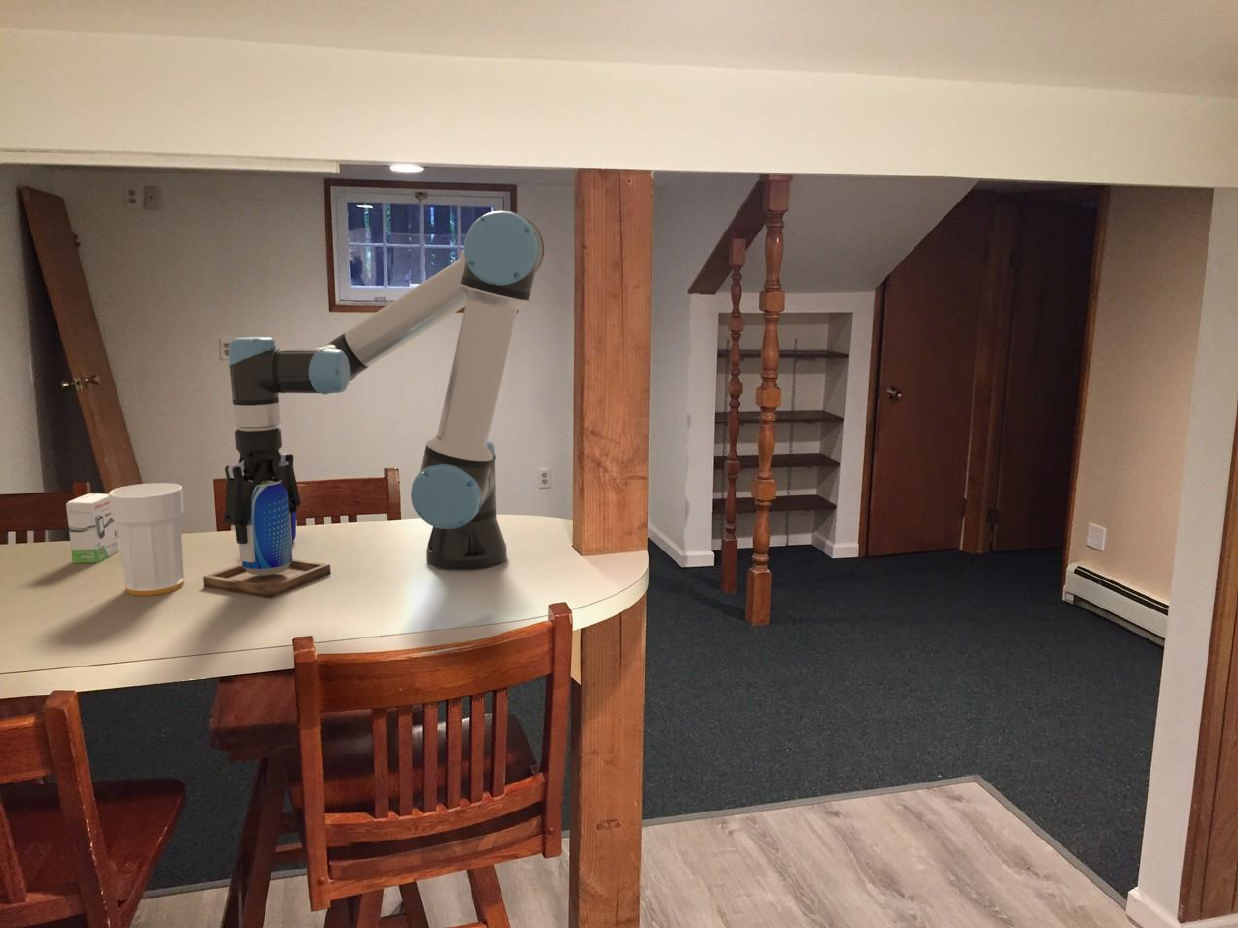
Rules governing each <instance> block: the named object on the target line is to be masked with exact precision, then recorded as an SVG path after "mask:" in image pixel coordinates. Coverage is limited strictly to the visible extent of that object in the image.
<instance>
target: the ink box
mask: <svg viewBox="0 0 1238 928" xmlns="http://www.w3.org/2000/svg"><path fill="white" fill-rule="evenodd" d="M65 506H66V516H67V523H68V533H69V541H70V548H71V551H70V552H71V558H72V563H73V564H77V563H78V564H79V563H80V564H82V563H85V564H87V563H91V564H92V563H96V564H97V563H100V562H101V561H103V560H105V559H107V558H109V557H110V556H112V555H114V554H116V553H118V552H120V545H119V538H118V530H117V523H116V522H115V521H114V520H113V519H112V514H111V507H110V500H109V493H100V492H98V493H94V492H92V493H91V492H90V493H86V494H83V495H80V496H79V497H76V498H74V499H71V500H69V501H67V503H65Z"/></svg>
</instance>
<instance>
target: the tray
mask: <svg viewBox="0 0 1238 928" xmlns="http://www.w3.org/2000/svg"><path fill="white" fill-rule="evenodd" d="M328 575H331V564H329V563H325V562H324V563H323V562H317V561H309V560H302V559H299V558H292V562H291V563H290V565H289V567H288V569H287V570H285V571H283V572H280V573H277V574H271V575H252V574H249V573H248V572H247V570H246V569H245V568H244V567H243V566H242V563H238V564H236V565H233V566H231V567H228V568H225V569H222V570H220V571H216V572H213V573H210V574H207V575H204V576H203V577H202V579H203V587H204V588H209V589H210V588H211V589H215V590H220V591H226V592H232V593H236V594H237V593H238V594H243V595H249V596H254V597H260V598H265V599H272V598H275V597H277V596H280V595H283V594H284V593H287V592H289V591H292V590H295V589H296V588H300V587H301V586H304V585H307V584H309V583H311V582H315V581H317V580H319V579H322V578H324V577H326V576H328Z"/></svg>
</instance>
